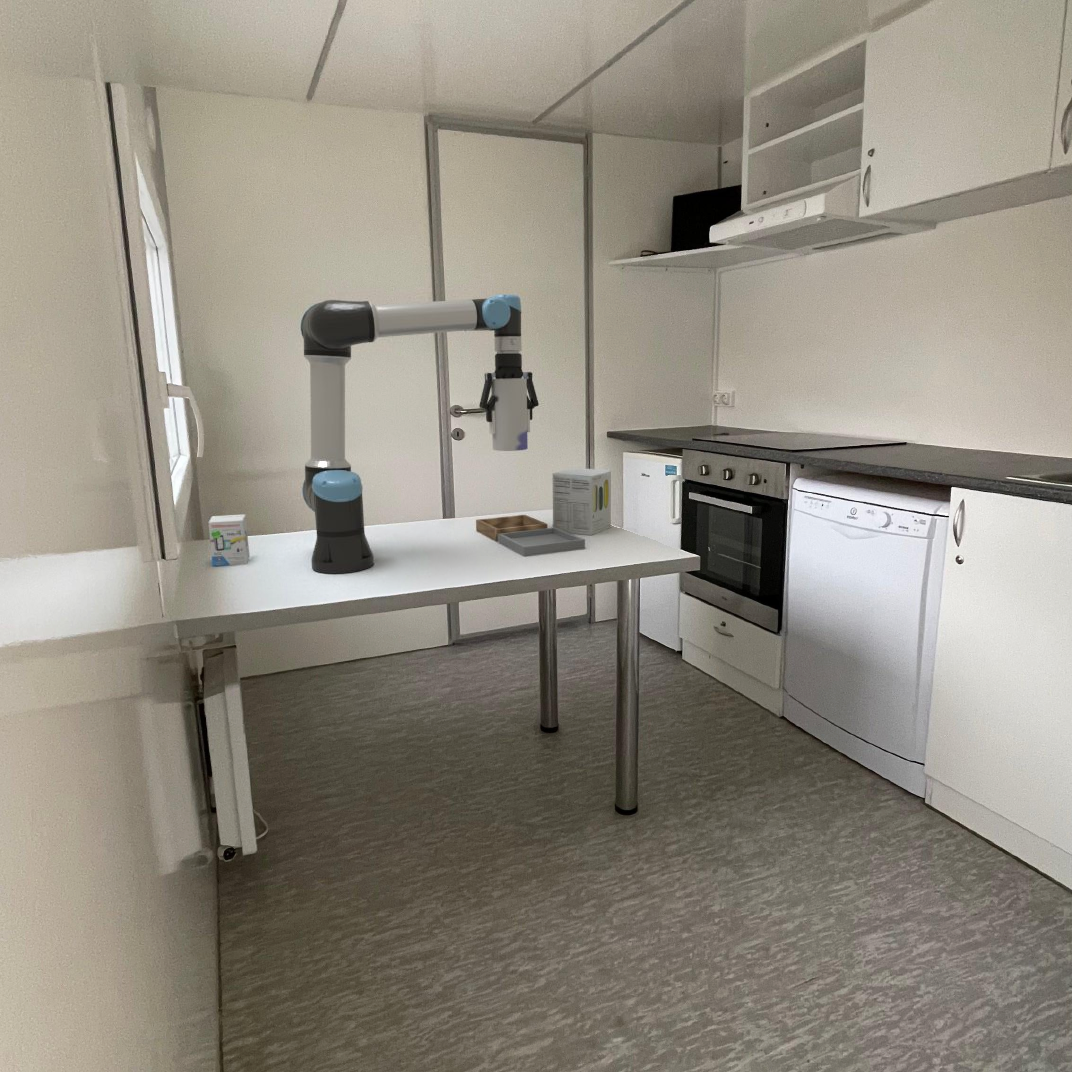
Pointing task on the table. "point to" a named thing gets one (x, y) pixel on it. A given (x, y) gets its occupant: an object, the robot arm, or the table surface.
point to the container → (510, 414)
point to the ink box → (229, 540)
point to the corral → (507, 525)
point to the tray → (541, 541)
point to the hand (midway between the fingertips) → (509, 432)
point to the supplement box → (582, 500)
